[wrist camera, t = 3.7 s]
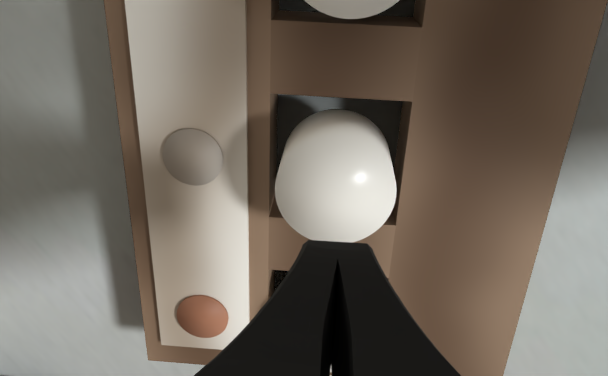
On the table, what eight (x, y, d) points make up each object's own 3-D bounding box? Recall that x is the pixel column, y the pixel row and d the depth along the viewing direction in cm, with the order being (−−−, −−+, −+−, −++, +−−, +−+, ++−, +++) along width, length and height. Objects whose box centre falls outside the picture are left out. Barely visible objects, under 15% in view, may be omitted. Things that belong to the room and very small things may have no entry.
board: (613, -159, 13) (663, -176, 11) (485, 349, 21) (501, 395, 19) (113, -176, 14) (73, -195, 12) (164, 324, 21) (145, 366, 19)
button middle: (395, 112, 15) (403, 139, 13) (384, 210, 16) (389, 248, 14) (284, 105, 15) (275, 131, 13) (282, 203, 16) (273, 240, 14)
